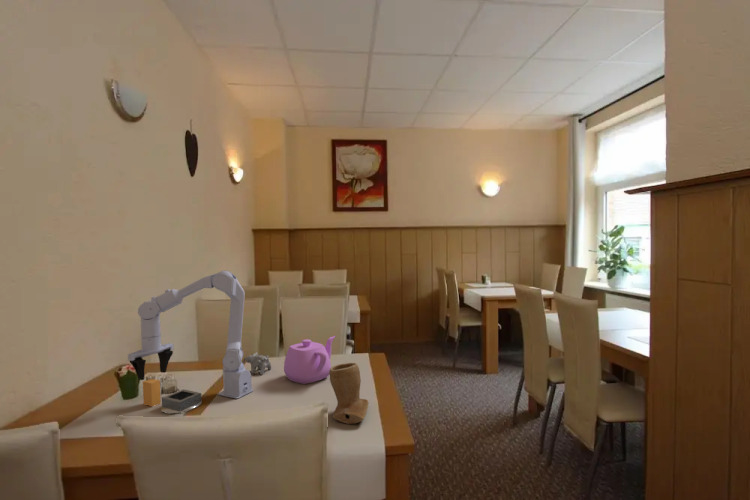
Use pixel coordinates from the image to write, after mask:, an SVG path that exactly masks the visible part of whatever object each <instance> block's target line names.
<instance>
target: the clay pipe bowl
mask: <svg viewBox="0 0 750 500" xmlns="http://www.w3.org/2000/svg"><path fill="white" fill-rule="evenodd" d="M328 376H329V381H330V384H331V387H332V389H333V392H334V395H335V397H336V401H337V405H336V407H335V410H334V412H333V415H332V418H333V419H335V420H337V421H338V422H340V423H344V424H350V425H352V424H354V425H355V424H357V423H361V422H363V421H364V420H365V418H366V415H367V412H368V408H369V399H366V398H365V399H364V398H360V393H361V392H360V391H361V390H360V389H361V381H362V379H361V372H360V367H359V365H358V364H357V363H355V362H346V363H340V364H336V365H334V366H331V369H330V370H329V375H328Z"/></svg>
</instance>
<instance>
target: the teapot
mask: <svg viewBox="0 0 750 500" xmlns="http://www.w3.org/2000/svg"><path fill="white" fill-rule="evenodd" d="M335 338H336V335H333V336H330V337H329V338H328V339H327V340H326V343H325V345H324V344H323V343H320V342H317V341H316V342H315V341H312V340H311V339H309V338H308V339H306V338H305V339H302V340H301V342H300V343H295V344H292V345H291V344H290V345H289V347H288V350H287V353H286V355H285V358H284V362H283V372H284V374H285V376H286V378H288V380H290V381H292V382H294V383H298V384H302V385H305V384H306V385H307V384H310V383H311V384H312V383H314V382H317V381H320V380H323V379H325V378H328V377H329V376H330V375H329V370H330V369H331V367H332V365H331V364H332V363H331V360H330V359H331V357H332V343H333V341H334V339H335Z"/></svg>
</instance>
